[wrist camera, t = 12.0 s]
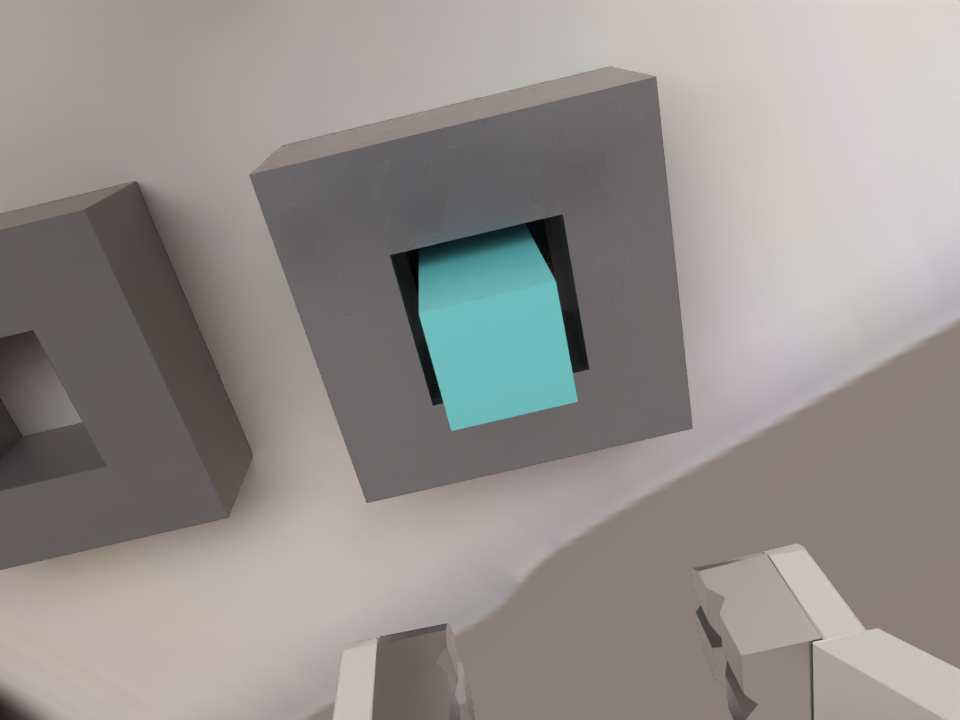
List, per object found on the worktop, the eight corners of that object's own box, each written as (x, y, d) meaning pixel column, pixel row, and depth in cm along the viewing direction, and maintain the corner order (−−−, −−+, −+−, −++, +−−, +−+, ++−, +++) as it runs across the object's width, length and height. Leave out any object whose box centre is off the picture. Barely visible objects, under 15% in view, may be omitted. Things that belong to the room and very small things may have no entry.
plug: (442, 320, 26) (451, 431, 19) (418, 230, 25) (418, 313, 18) (534, 298, 26) (577, 401, 19) (516, 207, 25) (555, 281, 18)
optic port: (375, 426, 28) (366, 502, 24) (282, 145, 23) (249, 174, 19) (648, 363, 28) (692, 428, 23) (610, 66, 23) (656, 76, 19)
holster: (-13, 516, 29) (-76, 587, 25) (-182, 257, 24) (-290, 299, 20) (252, 454, 28) (228, 517, 25) (135, 181, 24) (83, 209, 20)
